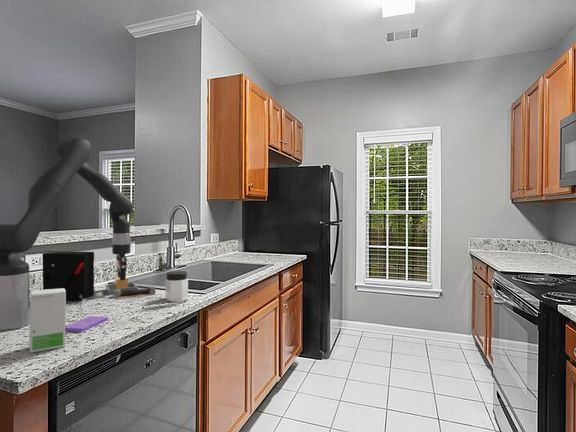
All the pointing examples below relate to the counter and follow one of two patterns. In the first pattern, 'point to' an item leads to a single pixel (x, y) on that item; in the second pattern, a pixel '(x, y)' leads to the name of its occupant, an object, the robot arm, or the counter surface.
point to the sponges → (85, 324)
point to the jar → (177, 287)
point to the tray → (112, 287)
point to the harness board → (134, 292)
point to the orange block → (121, 283)
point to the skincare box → (47, 319)
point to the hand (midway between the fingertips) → (121, 278)
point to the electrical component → (69, 273)
